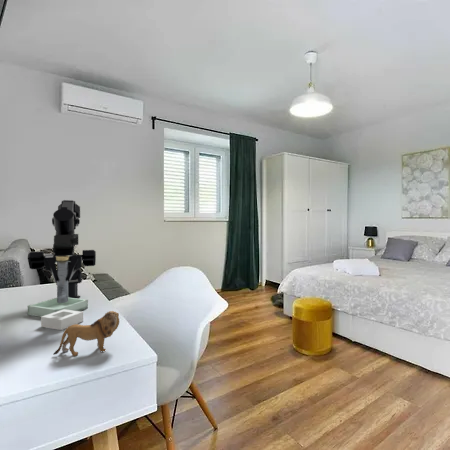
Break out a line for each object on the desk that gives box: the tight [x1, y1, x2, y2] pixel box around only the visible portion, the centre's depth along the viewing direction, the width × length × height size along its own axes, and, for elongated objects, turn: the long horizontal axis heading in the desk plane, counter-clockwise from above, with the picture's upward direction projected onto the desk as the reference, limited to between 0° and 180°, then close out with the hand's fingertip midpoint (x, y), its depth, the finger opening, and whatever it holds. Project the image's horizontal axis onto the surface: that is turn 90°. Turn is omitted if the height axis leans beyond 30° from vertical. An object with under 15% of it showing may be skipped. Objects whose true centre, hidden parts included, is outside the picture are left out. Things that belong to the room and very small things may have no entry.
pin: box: [56, 255, 69, 303], centre depth 90 cm, size 4×4×14 cm
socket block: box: [40, 309, 84, 331], centre depth 90 cm, size 8×8×3 cm
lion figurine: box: [53, 310, 120, 357], centre depth 72 cm, size 15×5×9 cm, turn 117°
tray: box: [27, 297, 89, 318], centre depth 103 cm, size 13×13×3 cm
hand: (62, 281), depth 89 cm, fingers closed on pin, 3 cm apart
